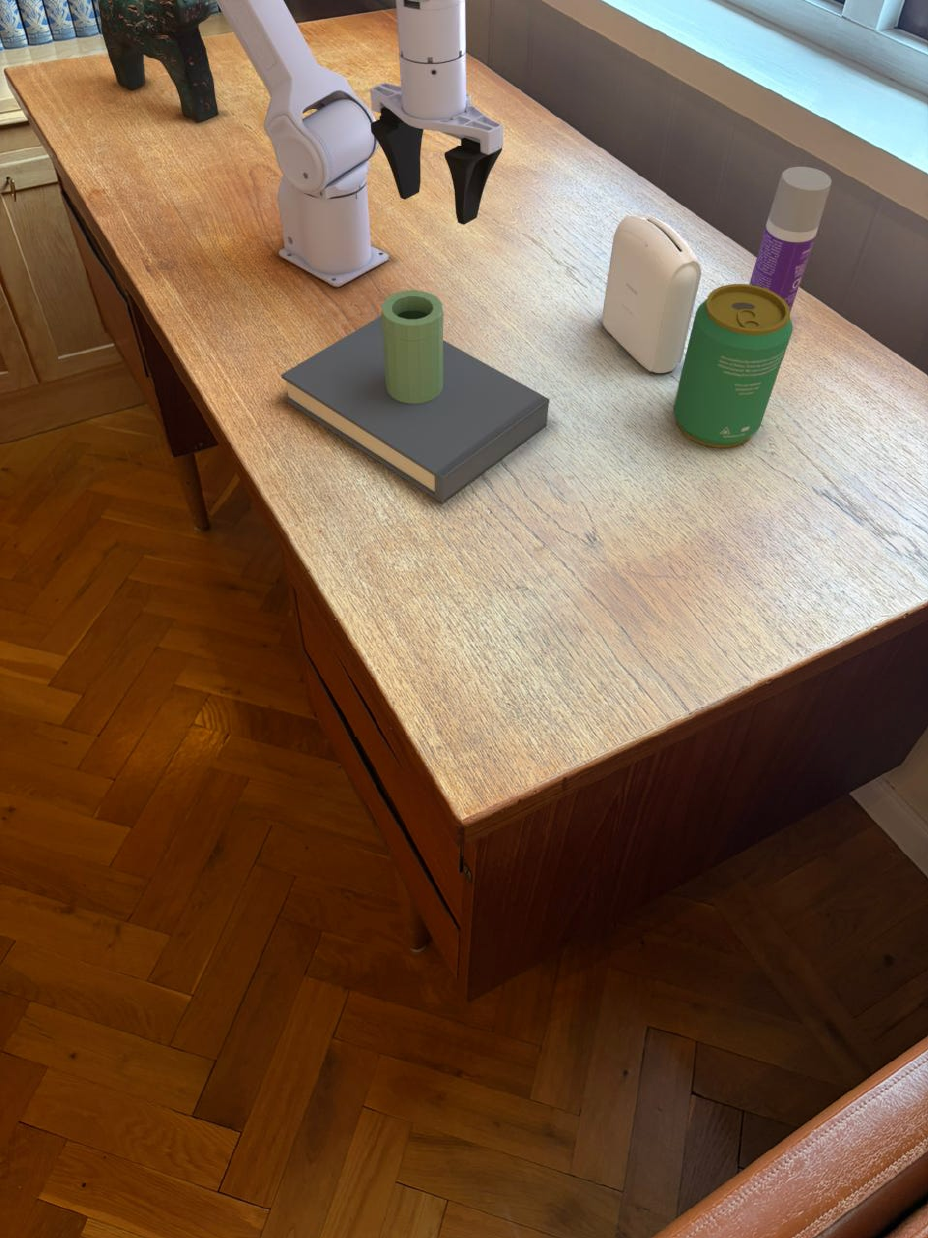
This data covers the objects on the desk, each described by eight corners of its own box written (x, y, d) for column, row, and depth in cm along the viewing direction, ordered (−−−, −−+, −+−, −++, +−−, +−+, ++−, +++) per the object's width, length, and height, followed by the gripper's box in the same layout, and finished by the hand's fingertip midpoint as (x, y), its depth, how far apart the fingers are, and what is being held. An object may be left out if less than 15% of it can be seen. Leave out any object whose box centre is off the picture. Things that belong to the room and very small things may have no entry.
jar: (374, 386, 84) (368, 307, 78) (414, 361, 86) (411, 282, 80) (414, 411, 82) (412, 332, 75) (454, 385, 84) (455, 306, 78)
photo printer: (594, 323, 96) (611, 205, 86) (630, 313, 97) (650, 196, 87) (649, 379, 90) (674, 261, 80) (686, 368, 91) (715, 250, 82)
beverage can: (748, 394, 89) (784, 279, 79) (767, 450, 84) (808, 335, 74) (664, 394, 89) (691, 279, 79) (678, 450, 84) (708, 335, 74)
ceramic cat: (233, 116, 124) (204, -65, 108) (195, 132, 121) (158, -52, 105) (140, 73, 132) (100, -101, 116) (102, 87, 129) (55, -90, 113)
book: (285, 401, 87) (280, 374, 85) (391, 336, 94) (389, 310, 91) (443, 504, 79) (442, 477, 77) (546, 425, 86) (549, 398, 83)
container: (785, 338, 95) (834, 193, 83) (739, 332, 95) (780, 187, 83) (785, 312, 98) (832, 168, 86) (739, 306, 98) (780, 162, 86)
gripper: (527, 57, 79) (522, 215, 89) (404, 19, 85) (412, 170, 95) (472, 83, 75) (473, 244, 86) (347, 41, 82) (363, 195, 92)
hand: (438, 207), depth 90 cm, fingers open, 7 cm apart
